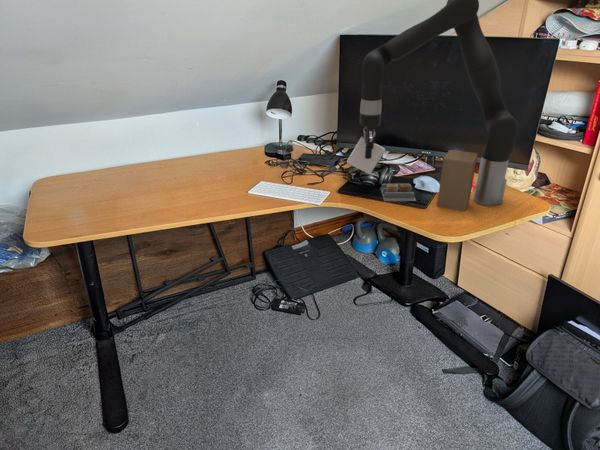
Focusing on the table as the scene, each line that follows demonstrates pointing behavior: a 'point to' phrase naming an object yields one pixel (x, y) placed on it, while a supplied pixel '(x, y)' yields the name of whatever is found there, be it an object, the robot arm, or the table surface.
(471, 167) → the wooden block
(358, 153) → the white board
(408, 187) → the walnut offcut
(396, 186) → the oak offcut
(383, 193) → the charcoal rack
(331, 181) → the table surface
